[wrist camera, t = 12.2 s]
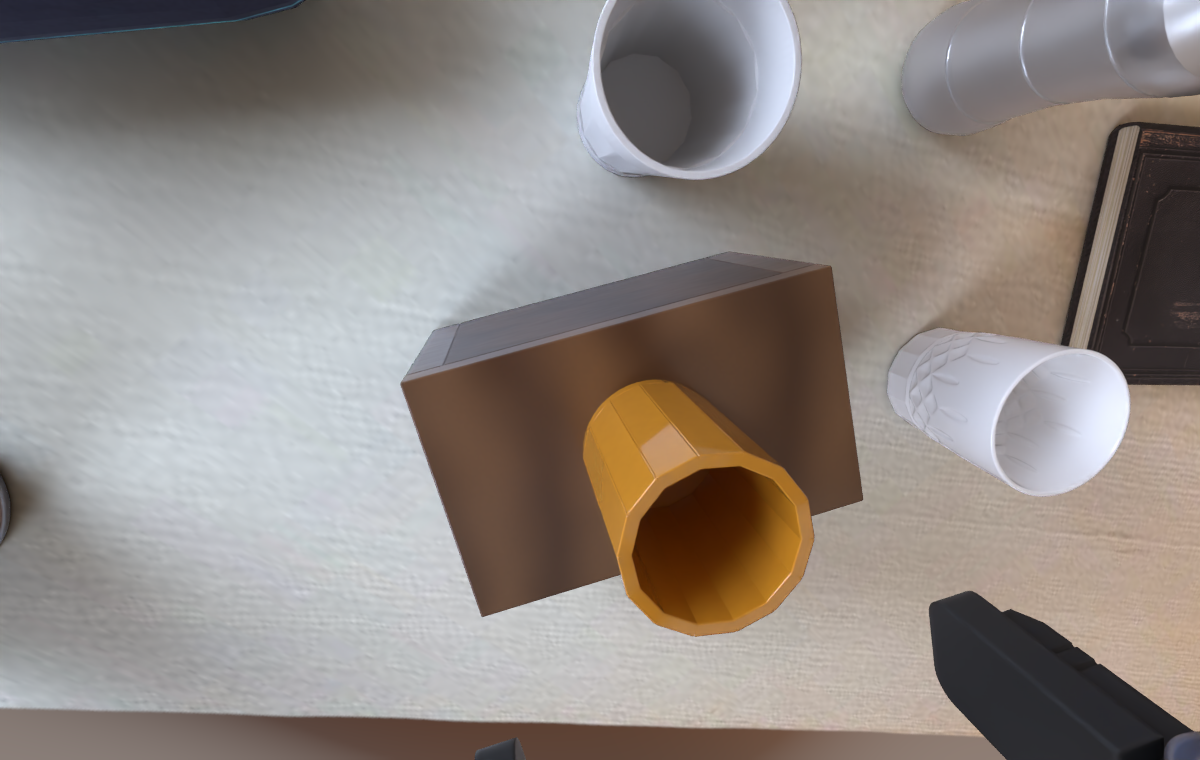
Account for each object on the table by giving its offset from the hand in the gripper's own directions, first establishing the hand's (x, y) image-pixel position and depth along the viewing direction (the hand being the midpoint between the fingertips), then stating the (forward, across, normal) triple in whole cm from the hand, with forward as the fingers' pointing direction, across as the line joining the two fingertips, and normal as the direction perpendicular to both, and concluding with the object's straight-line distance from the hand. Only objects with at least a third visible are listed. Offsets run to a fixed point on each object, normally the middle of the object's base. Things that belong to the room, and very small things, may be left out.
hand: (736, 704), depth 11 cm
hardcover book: (+27, -45, +5) cm, 53 cm away
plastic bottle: (+27, -25, -11) cm, 38 cm away
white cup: (+27, -23, +7) cm, 36 cm away
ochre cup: (+15, -2, +1) cm, 15 cm away
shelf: (+27, -2, +1) cm, 27 cm away
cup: (+27, -7, -13) cm, 31 cm away
